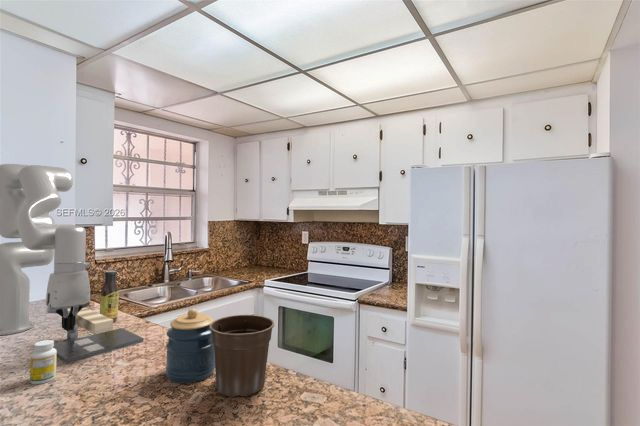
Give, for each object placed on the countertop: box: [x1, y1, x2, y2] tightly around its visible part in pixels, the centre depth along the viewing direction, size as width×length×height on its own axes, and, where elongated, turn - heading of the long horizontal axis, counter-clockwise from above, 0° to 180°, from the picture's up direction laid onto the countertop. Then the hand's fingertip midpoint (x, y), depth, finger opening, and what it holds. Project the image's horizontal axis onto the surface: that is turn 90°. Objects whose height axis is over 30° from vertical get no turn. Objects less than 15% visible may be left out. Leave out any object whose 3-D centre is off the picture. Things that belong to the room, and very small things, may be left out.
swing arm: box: [67, 307, 114, 335], centre depth 111 cm, size 26×5×3 cm, turn 54°
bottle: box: [99, 270, 120, 323], centre depth 136 cm, size 7×6×20 cm
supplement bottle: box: [29, 339, 58, 385], centre depth 90 cm, size 5×5×10 cm
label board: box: [53, 324, 145, 365], centre depth 114 cm, size 22×22×8 cm
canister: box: [165, 308, 215, 384], centre depth 95 cm, size 13×13×18 cm
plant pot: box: [210, 314, 275, 398], centre depth 89 cm, size 16×16×16 cm
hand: (68, 329), depth 102 cm, fingers closed
